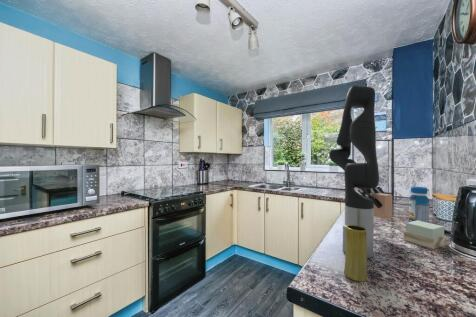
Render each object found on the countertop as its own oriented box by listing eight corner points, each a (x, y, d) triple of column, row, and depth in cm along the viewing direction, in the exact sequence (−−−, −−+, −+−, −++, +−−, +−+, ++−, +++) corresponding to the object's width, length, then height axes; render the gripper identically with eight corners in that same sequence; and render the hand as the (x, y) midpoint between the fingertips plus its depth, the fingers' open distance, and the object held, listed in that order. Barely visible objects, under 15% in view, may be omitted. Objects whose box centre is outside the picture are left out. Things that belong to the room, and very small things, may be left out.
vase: (346, 268, 65) (346, 223, 65) (369, 275, 61) (369, 227, 61) (341, 276, 60) (342, 227, 60) (366, 284, 56) (366, 232, 56)
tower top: (432, 239, 80) (432, 229, 80) (405, 231, 88) (405, 222, 88) (444, 236, 83) (444, 226, 83) (417, 229, 91) (417, 220, 91)
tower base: (432, 250, 79) (432, 239, 79) (403, 240, 88) (403, 231, 88) (446, 246, 83) (446, 236, 83) (416, 237, 92) (416, 228, 92)
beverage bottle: (425, 227, 105) (425, 188, 105) (405, 223, 112) (405, 186, 112) (432, 225, 109) (432, 187, 109) (412, 221, 116) (412, 186, 116)
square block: (384, 218, 87) (385, 195, 87) (373, 215, 92) (373, 193, 92) (392, 217, 89) (392, 194, 89) (380, 214, 94) (380, 193, 94)
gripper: (354, 172, 95) (380, 202, 84) (374, 172, 101) (401, 200, 90) (344, 182, 100) (368, 212, 89) (363, 181, 106) (388, 210, 95)
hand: (384, 206), depth 90 cm, fingers closed on square block, 5 cm apart
